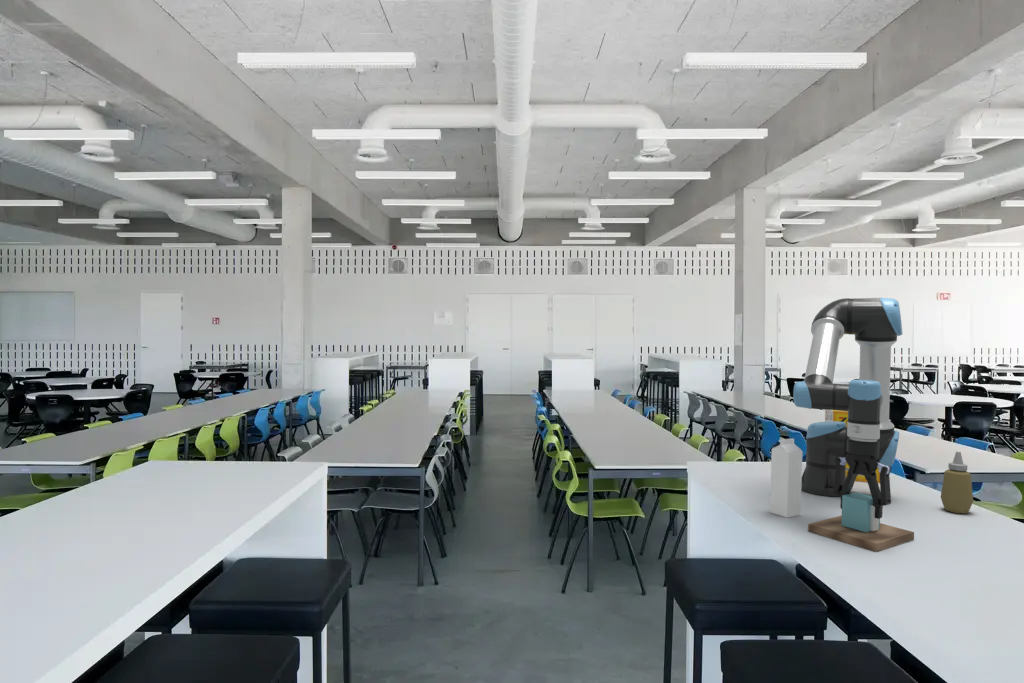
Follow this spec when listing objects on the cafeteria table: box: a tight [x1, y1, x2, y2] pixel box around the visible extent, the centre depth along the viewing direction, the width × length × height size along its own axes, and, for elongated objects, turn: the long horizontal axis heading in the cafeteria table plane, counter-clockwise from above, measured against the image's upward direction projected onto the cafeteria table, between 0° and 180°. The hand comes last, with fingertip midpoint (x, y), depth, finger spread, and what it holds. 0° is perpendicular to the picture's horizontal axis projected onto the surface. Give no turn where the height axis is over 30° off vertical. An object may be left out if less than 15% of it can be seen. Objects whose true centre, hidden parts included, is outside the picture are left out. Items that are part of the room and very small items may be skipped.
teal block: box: [841, 492, 881, 532], centre depth 167 cm, size 6×6×8 cm
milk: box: [769, 438, 803, 519], centre depth 185 cm, size 6×6×22 cm
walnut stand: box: [807, 514, 915, 553], centre depth 167 cm, size 18×18×8 cm
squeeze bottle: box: [940, 451, 974, 515], centre depth 191 cm, size 8×8×18 cm
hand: (860, 526), depth 167 cm, fingers closed on teal block, 6 cm apart
